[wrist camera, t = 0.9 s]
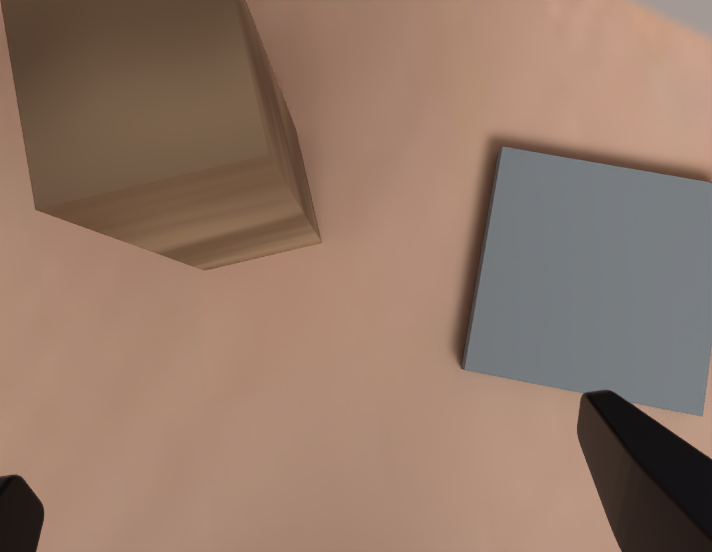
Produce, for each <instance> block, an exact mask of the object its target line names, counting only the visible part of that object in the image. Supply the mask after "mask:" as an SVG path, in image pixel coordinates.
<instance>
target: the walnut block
mask: <svg viewBox="0 0 712 552" xmlns="http://www.w3.org/2000/svg"><path fill="white" fill-rule="evenodd" d="M1 6H2V12H3V18H4V24H5V30H6V36H7V42H8V48H9V54H10V60H11V66H12V72H13V78H14V84H15V90H16V96H17V102H18V108H19V114H20V120H21V126H22V132H23V138H24V144H25V150H26V156H27V162H28V168H29V174H30V180H31V186H32V191H33V197H34V203H35V209H36V210H38V211H40V212H43V213H46V214H49V215H51V216H54V217H57V218H60V219H63V220H65V221H68V222H71V223H74V224H77V225H79V226H82V227H85V228H88V229H90V230H93V231H96V232H99V233H102V234H104V235H107V236H110V237H113V238H115V239H118V240H121V241H124V242H127V243H129V244H132V245H135V246H138V247H141V248H143V249H146V250H149V251H152V252H154V253H157V254H160V255H163V256H166V257H168V258H171V259H174V260H177V261H180V262H182V263H185V264H188V265H191V266H193V267H196V268H199V269H202V270H208V269H213V268H217V267H221V266H225V265H230V264H234V263H238V262H242V261H247V260H251V259H255V258H259V257H264V256H268V255H272V254H276V253H281V252H285V251H289V250H293V249H298V248H302V247H306V246H310V245H315V244H319V243H322V242H321V238H320V234H319V229H318V225H317V220H316V216H315V212H314V207H313V203H312V198H311V194H310V190H309V185H308V181H307V176H306V172H305V168H304V163H303V159H302V155H301V150H300V146H299V141H298V137H297V133H296V129H295V126H294V124H293V121H292V119H291V116H290V113H289V111H288V108H287V106H286V103H285V101H284V98H283V95H282V93H281V90H280V88H279V85H278V83H277V80H276V77H275V75H274V72H273V70H272V67H271V65H270V62H269V60H268V57H267V54H266V52H265V49H264V47H263V44H262V42H261V39H260V36H259V34H258V31H257V29H256V26H255V24H254V21H253V18H252V16H251V13H250V11H249V8H248V6H247V3H246V1H245V0H1Z"/></svg>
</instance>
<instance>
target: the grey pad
mask: <svg viewBox="0 0 712 552" xmlns="http://www.w3.org/2000/svg"><path fill="white" fill-rule="evenodd" d="M711 347H712V183H711V182H706V181H700V180H694V179H688V178H682V177H677V176H671V175H665V174H659V173H653V172H648V171H642V170H636V169H630V168H624V167H618V166H613V165H607V164H601V163H595V162H589V161H584V160H578V159H572V158H566V157H560V156H555V155H549V154H543V153H537V152H531V151H526V150H520V149H514V148H508V147H502V148H501V150H500V151H499V153H498V157H497V162H496V168H495V174H494V180H493V186H492V192H491V197H490V203H489V209H488V215H487V221H486V227H485V232H484V238H483V244H482V250H481V256H480V262H479V267H478V273H477V279H476V285H475V291H474V297H473V302H472V308H471V314H470V320H469V326H468V332H467V337H466V343H465V349H464V355H463V361H462V367H461V369H464V370H468V371H473V372H478V373H483V374H488V375H493V376H498V377H503V378H509V379H514V380H519V381H524V382H529V383H534V384H539V385H544V386H549V387H554V388H560V389H565V390H570V391H575V392H580V393H586V392H591V391H598V390H611V391H613V392H615V393H617V394H618V395H619V396H621V397H622V398H624V399H625V400H627V401H628V402H631V403H636V404H641V405H646V406H651V407H657V408H662V409H667V410H672V411H677V412H682V413H687V414H692V415H697V416H702V417H703V410H704V402H705V394H706V386H707V378H708V371H709V363H710V355H711Z"/></svg>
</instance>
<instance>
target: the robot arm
mask: <svg viewBox="0 0 712 552" xmlns="http://www.w3.org/2000/svg"><path fill="white" fill-rule="evenodd" d="M577 434H578V439H579V443H580V445H581V448H582V451H583V454H584V456H585V459H586V462H587V464H588V467H589V470H590V472H591V475H592V478H593V481H594V483H595V486H596V489H597V491H598V494H599V497H600V499H601V502H602V505H603V508H604V510H605V513H606V516H607V518H608V521H609V524H610V526H611V529H612V531H613V534H614V536H615V538H616V541H617V543H618V545H619V547H620V549H621V551H622V552H712V459H711V458H709V457H708V456H706V455H705V454H703V453H702V452H701V451H699V450H698V449H696V448H695V447H693V446H692V445H690V444H689V443H688V442H686V441H685V440H683V439H682V438H680V437H679V436H677V435H676V434H674V433H673V432H672V431H670V430H669V429H667V428H666V427H664V426H663V425H661V424H660V423H659V422H657V421H656V420H654V419H653V418H651V417H650V416H648V415H647V414H646V413H644V412H643V411H641V410H640V409H638V408H637V407H635V406H634V405H632V404H631V403H630V402H628V401H627V400H625V399H624V398H622V397H621V396H619V395H618V394H617V393H615V392H613V391H611V390H598V391H591V392H586V393H584V394H583V395H582V397H581V401H580V408H579V416H578V423H577ZM43 521H44V507H43V504H42V502H41V501H40V500H39V498H38V497H37V496H36V494H35V493H34V492H33V490H32V489H31V488H30V487H29V485H28V484H27V483H26V481H25V480H24V479H23V478H22V477H21V476H19V475H7V476H0V552H36V550H37V546H38V542H39V538H40V533H41V529H42V525H43Z"/></svg>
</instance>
